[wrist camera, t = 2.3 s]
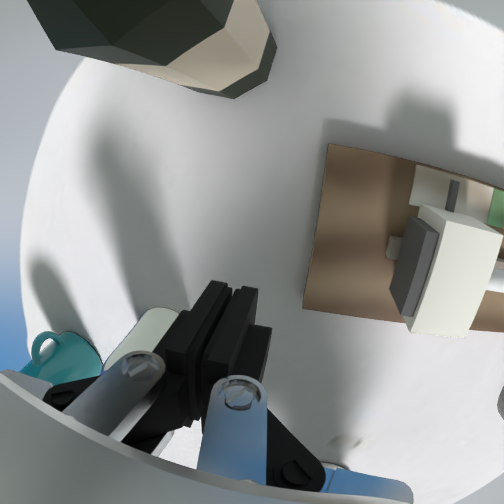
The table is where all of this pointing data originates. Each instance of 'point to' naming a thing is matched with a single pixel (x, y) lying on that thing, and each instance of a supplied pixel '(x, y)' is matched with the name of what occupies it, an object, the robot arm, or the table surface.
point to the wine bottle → (168, 39)
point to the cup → (62, 359)
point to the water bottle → (143, 334)
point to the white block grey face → (445, 269)
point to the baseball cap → (501, 403)
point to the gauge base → (385, 231)
